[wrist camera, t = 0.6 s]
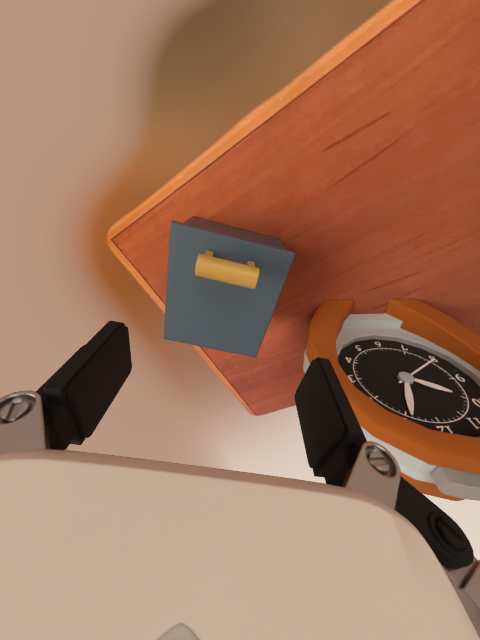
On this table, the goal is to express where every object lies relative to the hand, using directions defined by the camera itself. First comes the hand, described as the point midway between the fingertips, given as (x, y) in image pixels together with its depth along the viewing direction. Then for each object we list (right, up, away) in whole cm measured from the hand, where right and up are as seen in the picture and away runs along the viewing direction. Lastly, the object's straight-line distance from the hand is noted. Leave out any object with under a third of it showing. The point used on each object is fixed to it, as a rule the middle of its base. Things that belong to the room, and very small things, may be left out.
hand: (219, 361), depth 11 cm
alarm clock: (+21, +1, +25) cm, 33 cm away
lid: (-1, +5, +13) cm, 14 cm away
